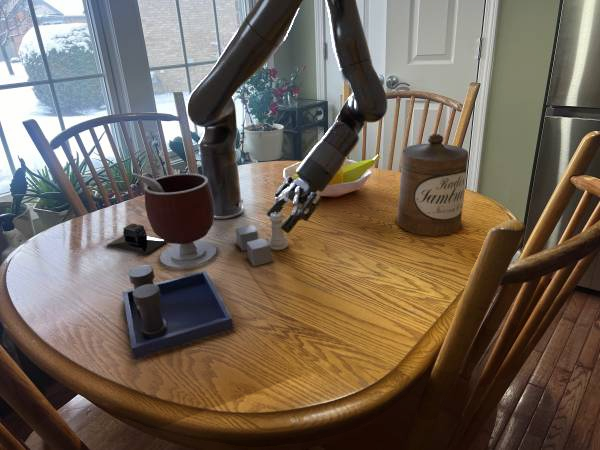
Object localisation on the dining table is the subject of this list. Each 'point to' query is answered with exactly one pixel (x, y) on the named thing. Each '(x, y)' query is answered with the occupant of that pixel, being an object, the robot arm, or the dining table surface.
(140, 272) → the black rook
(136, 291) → the dark grey cylinder
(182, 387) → the dining table surface
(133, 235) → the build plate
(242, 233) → the grey block far
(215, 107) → the robot arm
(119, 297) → the dining table surface
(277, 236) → the rook chess piece
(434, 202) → the wooden container
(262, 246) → the grey block near
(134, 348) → the tray
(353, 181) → the fruit bowl
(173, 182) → the mate gourd
